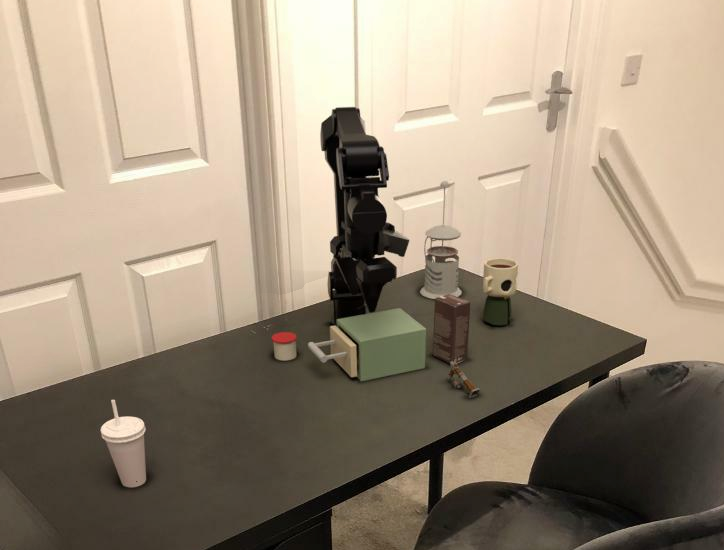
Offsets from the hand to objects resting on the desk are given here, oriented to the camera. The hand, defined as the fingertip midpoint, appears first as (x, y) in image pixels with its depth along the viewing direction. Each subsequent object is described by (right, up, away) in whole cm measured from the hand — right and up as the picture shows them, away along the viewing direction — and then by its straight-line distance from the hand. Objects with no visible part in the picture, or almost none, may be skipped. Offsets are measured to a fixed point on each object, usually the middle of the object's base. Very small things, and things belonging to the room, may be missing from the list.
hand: (363, 303), depth 151 cm
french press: (+17, +13, +42) cm, 47 cm away
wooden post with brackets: (+18, -16, 0) cm, 24 cm away
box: (+17, -8, +12) cm, 22 cm away
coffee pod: (-16, -8, +13) cm, 22 cm away
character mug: (+28, +2, +27) cm, 39 cm away
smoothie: (-35, -33, -24) cm, 54 cm away
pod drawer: (-1, -10, +8) cm, 13 cm away
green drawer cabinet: (+3, -9, +10) cm, 14 cm away
